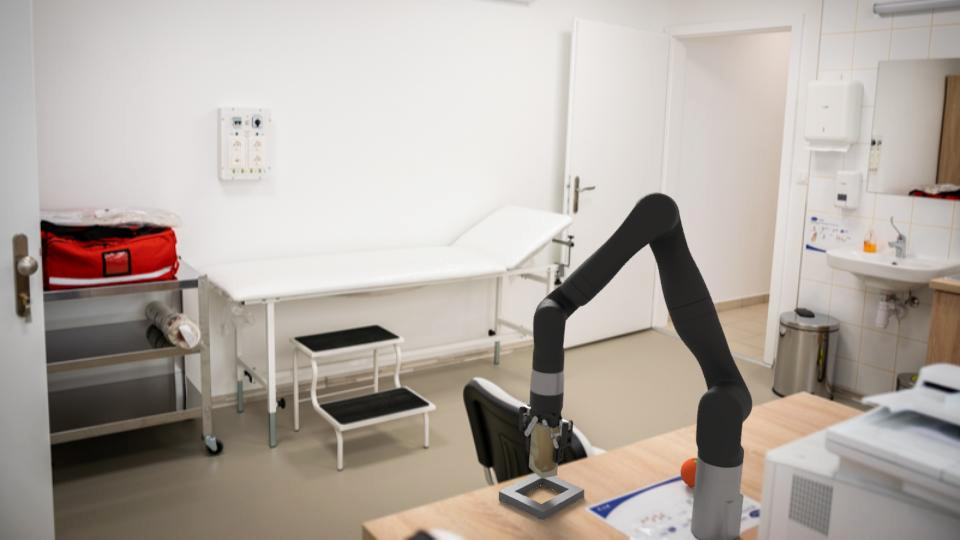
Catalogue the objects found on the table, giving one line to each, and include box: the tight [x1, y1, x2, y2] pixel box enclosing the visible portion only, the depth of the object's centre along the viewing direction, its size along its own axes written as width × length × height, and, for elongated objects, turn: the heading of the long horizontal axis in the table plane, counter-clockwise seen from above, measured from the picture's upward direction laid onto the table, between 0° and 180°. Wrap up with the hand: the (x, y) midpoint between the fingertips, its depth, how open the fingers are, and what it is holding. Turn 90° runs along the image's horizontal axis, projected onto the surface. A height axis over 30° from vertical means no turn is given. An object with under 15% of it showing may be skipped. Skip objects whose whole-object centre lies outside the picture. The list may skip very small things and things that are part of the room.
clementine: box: [679, 457, 697, 489], centre depth 189 cm, size 8×7×7 cm
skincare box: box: [528, 422, 561, 478], centre depth 180 cm, size 6×4×12 cm
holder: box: [498, 472, 585, 521], centre depth 182 cm, size 13×15×2 cm
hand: (543, 456), depth 180 cm, fingers closed on skincare box, 7 cm apart
